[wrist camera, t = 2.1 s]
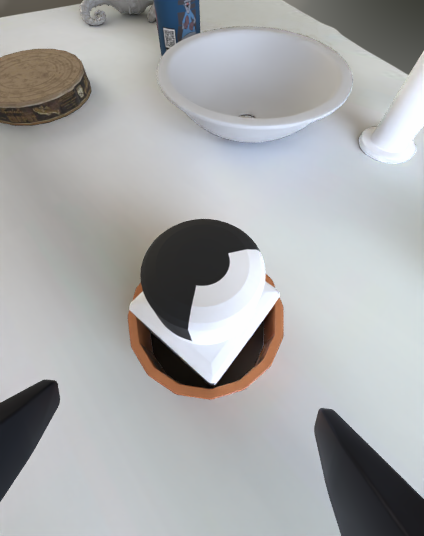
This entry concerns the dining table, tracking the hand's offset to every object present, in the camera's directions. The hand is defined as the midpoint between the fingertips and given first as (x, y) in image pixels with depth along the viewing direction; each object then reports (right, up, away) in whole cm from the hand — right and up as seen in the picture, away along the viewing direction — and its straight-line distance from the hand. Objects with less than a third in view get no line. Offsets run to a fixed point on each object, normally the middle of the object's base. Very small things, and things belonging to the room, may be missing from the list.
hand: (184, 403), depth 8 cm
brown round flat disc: (-27, +32, +31) cm, 52 cm away
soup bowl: (+6, +26, +28) cm, 39 cm away
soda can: (-4, +42, +36) cm, 55 cm away
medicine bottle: (0, -1, +14) cm, 14 cm away
